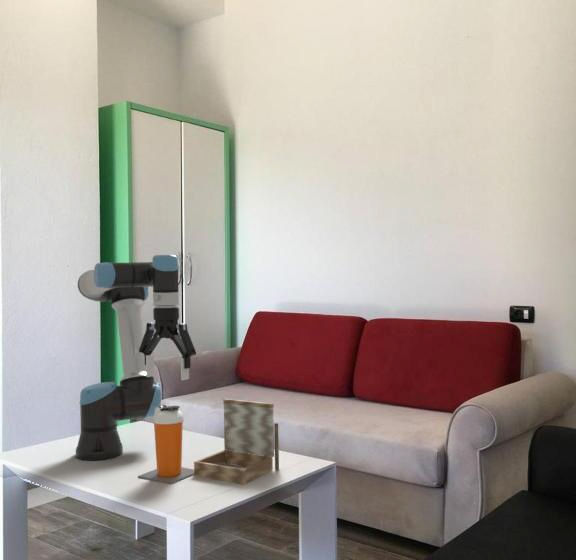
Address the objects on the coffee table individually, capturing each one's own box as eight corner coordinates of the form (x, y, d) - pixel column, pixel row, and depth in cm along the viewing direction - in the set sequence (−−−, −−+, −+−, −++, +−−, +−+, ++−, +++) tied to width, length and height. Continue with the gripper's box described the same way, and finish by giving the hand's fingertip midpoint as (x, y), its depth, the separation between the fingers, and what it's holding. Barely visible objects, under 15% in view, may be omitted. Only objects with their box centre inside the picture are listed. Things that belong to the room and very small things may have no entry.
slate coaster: (137, 477, 196) (137, 476, 196) (167, 466, 207) (167, 464, 207) (171, 484, 189) (171, 482, 189) (200, 471, 200) (200, 470, 200)
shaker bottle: (178, 478, 193) (176, 409, 192) (149, 477, 194) (147, 409, 194) (188, 469, 201) (187, 403, 201) (161, 468, 203) (159, 403, 203)
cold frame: (194, 475, 197) (193, 407, 197) (228, 460, 211) (227, 398, 211) (247, 485, 187) (246, 414, 187) (279, 469, 201) (278, 403, 201)
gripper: (126, 306, 201) (127, 376, 201) (190, 308, 188) (191, 383, 188) (143, 305, 207) (145, 373, 207) (207, 306, 194) (208, 379, 194)
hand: (167, 378), depth 198 cm, fingers open, 13 cm apart
